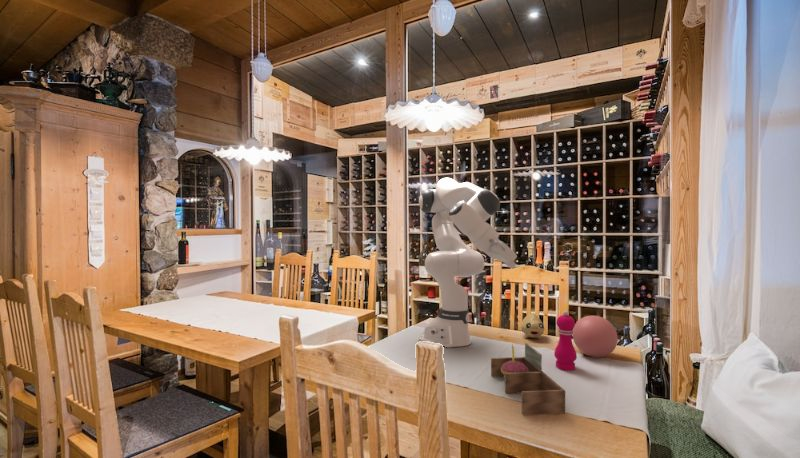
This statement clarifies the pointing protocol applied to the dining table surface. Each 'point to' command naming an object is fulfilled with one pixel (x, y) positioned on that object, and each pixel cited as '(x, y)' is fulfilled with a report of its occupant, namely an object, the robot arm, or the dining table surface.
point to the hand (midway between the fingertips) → (513, 266)
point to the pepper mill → (565, 343)
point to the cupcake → (513, 366)
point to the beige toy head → (532, 326)
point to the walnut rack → (531, 384)
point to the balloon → (595, 336)
